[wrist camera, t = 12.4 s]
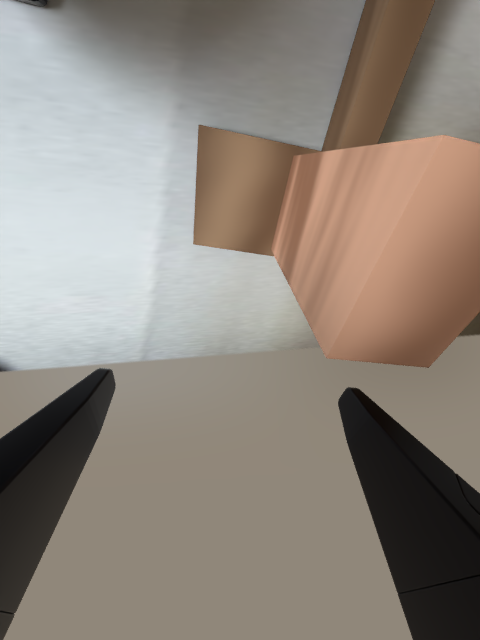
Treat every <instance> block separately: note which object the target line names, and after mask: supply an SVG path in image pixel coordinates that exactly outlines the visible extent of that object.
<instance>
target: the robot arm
mask: <svg viewBox="0 0 480 640" xmlns="http://www.w3.org/2000/svg"><path fill="white" fill-rule="evenodd" d="M18 1H22V2H26V3H29V4H33V5H37V6H44V5H45V4H46V3H47V0H18ZM114 391H115V380H114V375H113V371H112V370H111V369H105V368H99V369H97V370H95V371H94V372H92V373H91V374H90V375H88V376H87V377H86V378H84V379H83V380H81V381H80V382H79V383H77V384H76V385H74V386H73V387H72V388H70V389H69V390H68V391H66V392H65V393H63V394H62V395H60V396H59V397H58V398H56V399H55V400H53V401H52V402H51V403H49V404H48V405H47V406H45V407H44V408H42V409H41V410H40V411H38V412H37V413H35V414H34V415H33V416H31V417H30V418H28V419H27V420H26V421H24V422H23V423H22V424H20V425H19V426H17V427H16V428H15V429H13V430H12V431H10V432H9V433H8V434H6V435H5V436H3V437H2V438H1V439H0V640H3V639H4V637H5V635H6V632H7V630H8V628H9V626H10V624H11V622H12V620H13V618H14V613H15V612H16V611H17V609H18V606H19V604H20V602H21V600H22V598H23V596H24V593H25V592H26V589H27V587H28V585H29V583H30V581H31V579H32V576H33V574H34V572H35V570H36V568H37V566H38V564H39V562H40V560H41V557H42V555H43V553H44V551H45V549H46V546H47V545H48V543H49V540H50V538H51V536H52V534H53V532H54V530H55V527H56V526H57V523H58V521H59V519H60V517H61V514H62V513H63V510H64V509H65V506H66V504H67V502H68V500H69V498H70V496H71V494H72V491H73V489H74V487H75V485H76V483H77V481H78V479H79V477H80V474H81V472H82V470H83V468H84V466H85V464H86V462H87V460H88V457H89V455H90V453H91V451H92V449H93V447H94V444H95V442H96V440H97V438H98V436H99V434H100V431H101V428H102V426H103V423H104V420H105V417H106V414H107V411H108V408H109V405H110V402H111V400H112V397H113V394H114ZM338 406H339V410H340V414H341V419H342V422H343V427H344V432H345V436H346V440H347V443H348V446H349V450H350V453H351V456H352V459H353V462H354V465H355V468H356V471H357V474H358V476H359V479H360V483H361V486H362V488H363V491H364V495H365V498H366V501H367V504H368V506H369V509H370V512H371V515H372V518H373V521H374V524H375V527H376V530H377V533H378V536H379V539H380V542H381V545H382V548H383V551H384V554H385V557H386V560H387V563H388V566H389V569H390V572H391V575H392V578H393V581H394V584H395V587H396V590H397V592H398V596H399V599H400V602H401V605H402V608H403V611H404V614H405V617H406V620H407V623H408V626H409V629H410V632H411V635H412V638H413V640H480V493H479V492H477V491H476V490H475V489H474V488H473V487H471V486H470V485H469V484H468V483H467V482H466V481H464V480H463V479H462V478H461V477H460V476H459V475H458V474H455V473H454V471H453V470H452V469H450V468H449V467H448V466H447V465H446V464H445V463H444V462H443V461H441V460H440V459H439V458H438V457H437V456H435V455H434V454H433V453H432V452H431V451H430V450H429V449H428V448H426V447H425V446H424V445H423V444H422V443H420V442H419V441H418V440H417V439H416V438H415V437H414V436H413V435H411V434H410V433H409V432H408V431H407V430H405V429H404V428H403V427H402V426H401V425H400V424H399V423H397V422H396V421H395V420H394V419H393V418H392V417H391V416H389V415H388V414H387V413H386V412H385V411H384V410H383V409H381V408H380V407H379V406H378V405H377V404H376V403H375V402H373V401H372V400H371V399H370V398H369V397H368V396H366V395H365V394H364V393H363V392H362V391H361V390H359V389H357V388H350V387H348V388H347V389H346V390H345V391H344V392H343V394H342V395H341V397H340V398H339V401H338Z"/></svg>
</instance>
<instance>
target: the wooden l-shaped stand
mask: <svg viewBox="0 0 480 640" xmlns="http://www.w3.org/2000/svg"><path fill="white" fill-rule="evenodd" d="M434 2H435V0H366V2H365V5H364V9H363V12H362V16H361V19H360V22H359V26H358V29H357V33H356V36H355V39H354V43H353V46H352V49H351V53H350V56H349V60H348V63H347V66H346V70H345V73H344V77H343V80H342V83H341V87H340V90H339V93H338V97H337V100H336V104H335V107H334V110H333V114H332V117H331V120H330V124H329V127H328V131H327V134H326V137H325V141H324V144H323V148H322V151H317V150H313V149H308V148H304V147H299V146H294V145H290V144H285V143H281V142H276V141H272V140H267V139H262V138H258V137H253V136H249V135H244V134H239V133H235V132H230V131H226V130H221V129H217V128H212V127H207V126H203V125H199V129H198V152H197V174H196V197H195V219H194V241H193V244H195V245H202V246H209V247H215V248H222V249H229V250H235V251H242V252H249V253H255V254H262V255H269V256H275V258H276V260H277V262H278V264H279V266H280V268H281V270H282V272H283V274H284V276H285V278H286V280H287V282H288V284H289V286H290V288H291V290H292V292H293V294H294V295H295V297H296V299H297V301H298V303H299V305H300V307H301V309H302V311H303V313H304V315H305V317H306V319H307V321H308V323H309V325H310V327H311V329H312V331H313V333H314V335H315V337H316V339H317V341H318V343H319V345H320V347H321V349H322V350H323V352H324V354H325V356H326V358H329V359H341V360H351V361H362V362H372V363H383V364H394V365H405V366H416V367H427V368H429V367H430V366H431V364H432V363H433V362H434V361H435V360H436V359H437V358H438V357H439V356H440V355H441V354H442V352H443V351H444V350H445V349H446V348H447V347H448V346H449V345H450V344H451V343H452V342H453V340H454V339H455V338H456V337H457V336H458V335H459V334H460V333H461V332H462V331H463V330H464V328H465V327H466V326H467V325H468V324H469V323H470V322H471V321H472V320H473V319H474V317H475V316H476V315H477V314H478V313H479V312H480V144H478V143H474V142H470V141H466V140H462V139H458V138H454V137H450V136H446V135H440V136H433V137H426V138H419V139H411V140H404V141H397V142H390V143H382V144H378V141H379V139H380V136H381V134H382V131H383V129H384V126H385V124H386V121H387V119H388V116H389V114H390V111H391V109H392V106H393V104H394V101H395V99H396V96H397V94H398V91H399V89H400V86H401V84H402V81H403V79H404V77H405V74H406V72H407V69H408V67H409V64H410V62H411V59H412V57H413V54H414V52H415V49H416V47H417V44H418V42H419V39H420V37H421V34H422V32H423V29H424V27H425V24H426V22H427V19H428V17H429V15H430V12H431V10H432V7H433V5H434Z"/></svg>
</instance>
